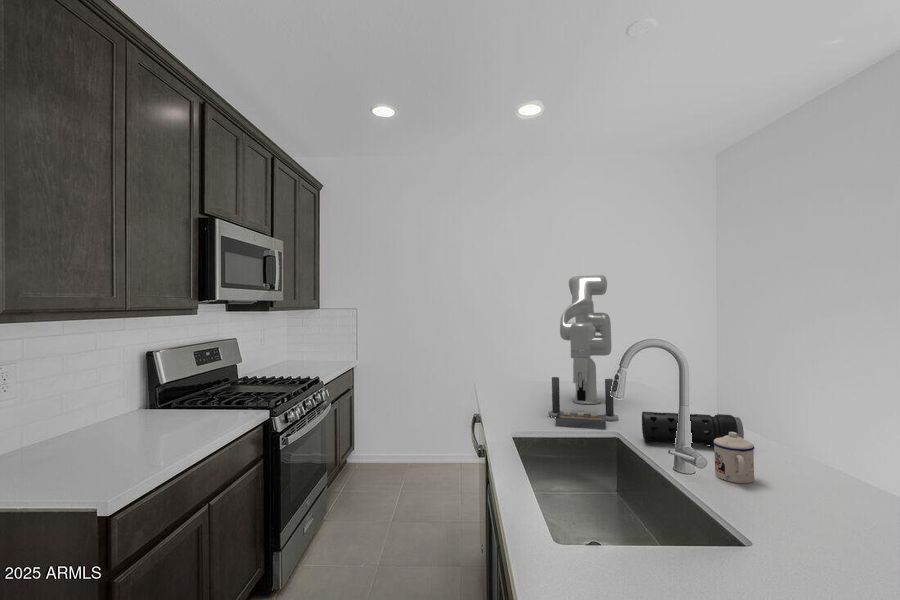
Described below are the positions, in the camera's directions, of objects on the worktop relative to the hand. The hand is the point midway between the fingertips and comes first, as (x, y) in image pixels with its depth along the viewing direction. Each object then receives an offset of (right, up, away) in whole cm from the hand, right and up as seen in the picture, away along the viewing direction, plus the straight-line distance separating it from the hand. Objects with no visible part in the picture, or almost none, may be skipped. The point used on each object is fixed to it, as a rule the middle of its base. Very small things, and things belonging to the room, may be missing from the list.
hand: (581, 400), depth 179 cm
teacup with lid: (+21, -6, -64) cm, 68 cm away
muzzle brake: (+25, -7, -35) cm, 43 cm away
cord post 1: (-8, -8, +7) cm, 14 cm away
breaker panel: (-2, -8, -7) cm, 11 cm away
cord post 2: (+11, -8, 0) cm, 14 cm away
